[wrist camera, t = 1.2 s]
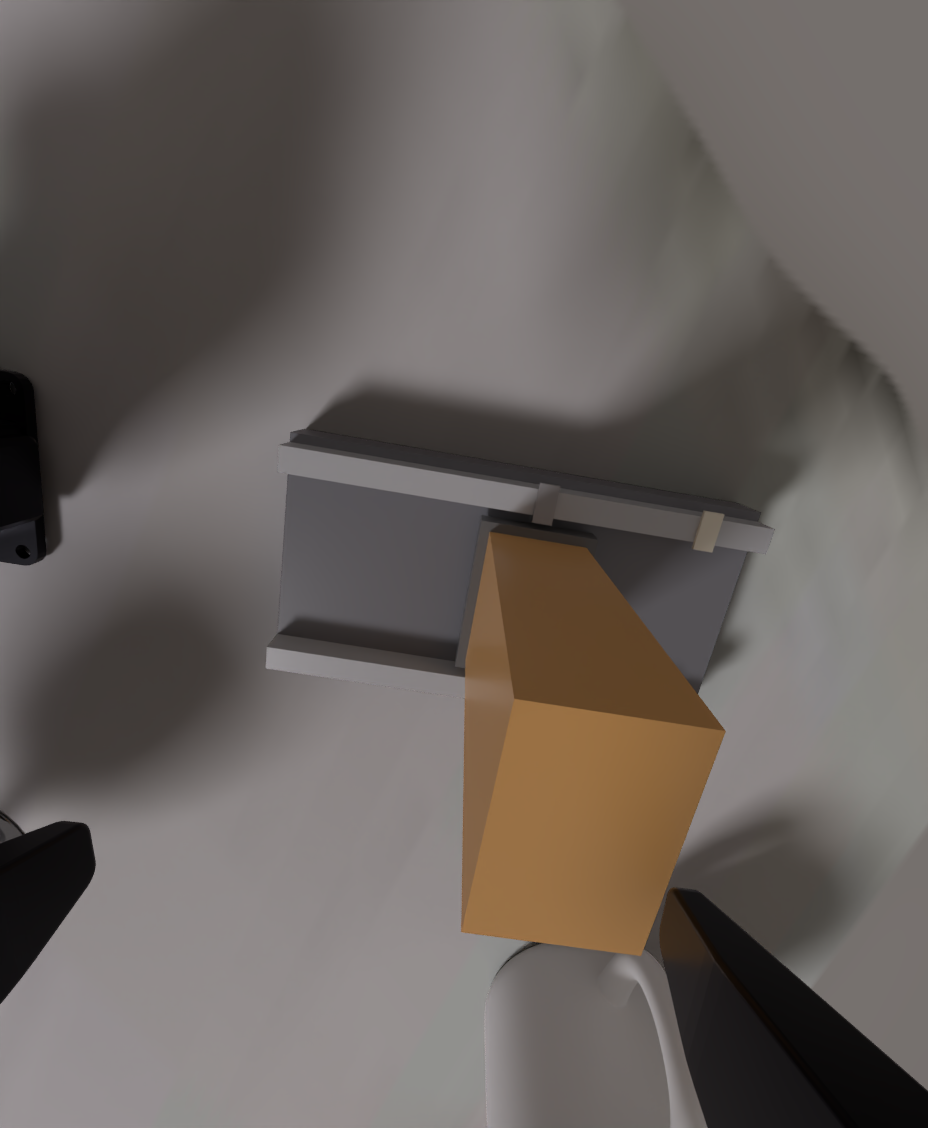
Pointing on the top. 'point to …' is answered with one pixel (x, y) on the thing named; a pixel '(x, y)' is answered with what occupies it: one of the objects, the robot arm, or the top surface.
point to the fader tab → (570, 747)
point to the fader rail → (446, 548)
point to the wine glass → (7, 829)
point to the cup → (585, 1043)
